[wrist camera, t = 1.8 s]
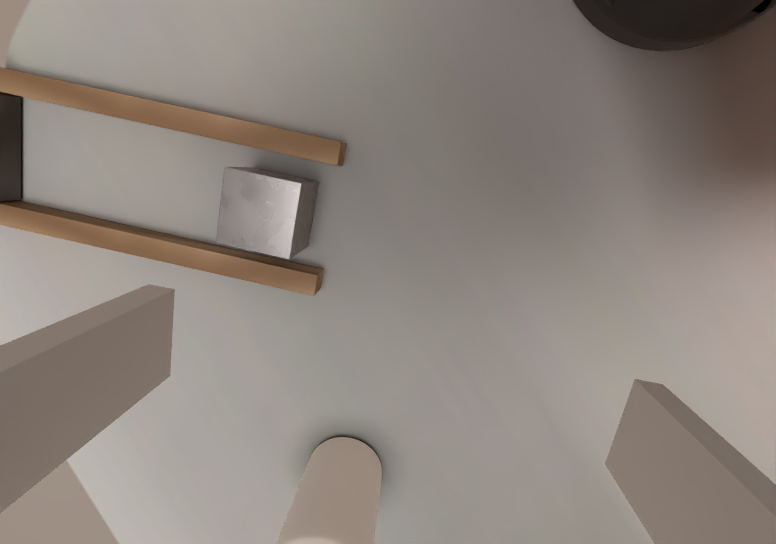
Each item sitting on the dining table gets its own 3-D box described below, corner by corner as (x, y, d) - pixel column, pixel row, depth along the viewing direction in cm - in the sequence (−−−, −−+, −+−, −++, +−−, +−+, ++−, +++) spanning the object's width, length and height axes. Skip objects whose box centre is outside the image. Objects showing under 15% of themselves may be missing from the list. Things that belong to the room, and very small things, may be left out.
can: (360, 422, 36) (331, 542, 24) (395, 482, 37) (384, 625, 25) (296, 451, 37) (238, 579, 25) (332, 508, 38) (293, 656, 26)
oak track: (-10, 66, 31) (-88, 46, 26) (346, 143, 31) (332, 138, 26) (-7, 214, 34) (-78, 221, 29) (320, 288, 33) (303, 308, 29)
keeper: (254, 167, 32) (224, 166, 27) (319, 181, 32) (301, 183, 27) (246, 232, 33) (215, 242, 28) (308, 246, 33) (289, 259, 28)
